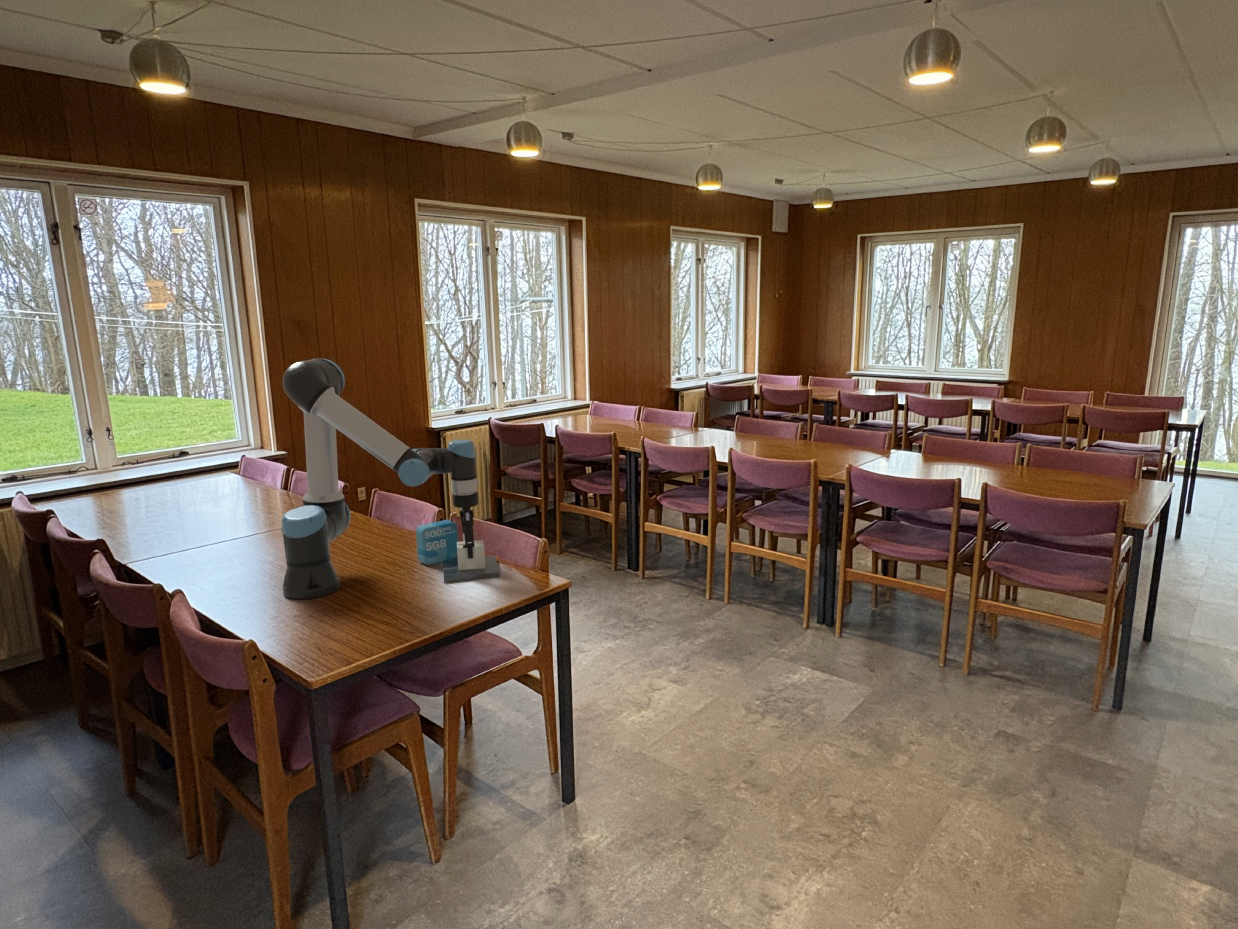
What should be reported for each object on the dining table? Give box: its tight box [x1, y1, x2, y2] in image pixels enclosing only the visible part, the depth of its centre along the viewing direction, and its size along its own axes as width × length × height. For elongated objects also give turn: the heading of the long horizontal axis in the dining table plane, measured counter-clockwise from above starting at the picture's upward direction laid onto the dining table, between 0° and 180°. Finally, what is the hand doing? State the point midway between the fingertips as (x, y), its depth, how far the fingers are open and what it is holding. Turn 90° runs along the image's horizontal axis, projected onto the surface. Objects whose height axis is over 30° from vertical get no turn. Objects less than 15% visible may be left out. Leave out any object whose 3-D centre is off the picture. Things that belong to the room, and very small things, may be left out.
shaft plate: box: [442, 555, 501, 584], centre depth 233 cm, size 16×16×6 cm
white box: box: [457, 539, 486, 571], centre depth 233 cm, size 6×8×7 cm
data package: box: [415, 519, 459, 566], centre depth 243 cm, size 12×4×12 cm, turn 130°
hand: (469, 561), depth 233 cm, fingers open, 13 cm apart
